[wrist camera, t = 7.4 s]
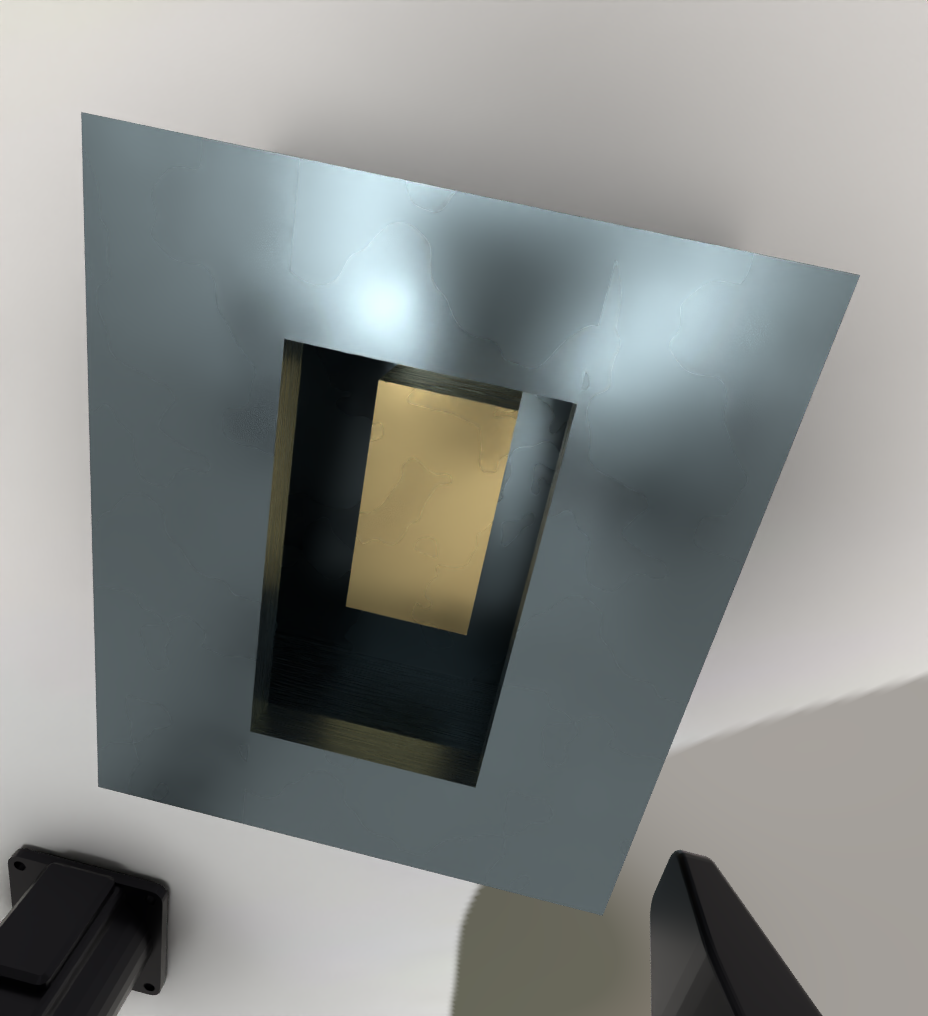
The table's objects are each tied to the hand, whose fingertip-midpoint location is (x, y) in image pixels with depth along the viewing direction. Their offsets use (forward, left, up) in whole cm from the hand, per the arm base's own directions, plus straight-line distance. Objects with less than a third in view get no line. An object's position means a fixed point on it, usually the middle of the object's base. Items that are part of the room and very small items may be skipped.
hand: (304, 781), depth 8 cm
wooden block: (0, 0, -11) cm, 11 cm away
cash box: (0, 0, -12) cm, 12 cm away
